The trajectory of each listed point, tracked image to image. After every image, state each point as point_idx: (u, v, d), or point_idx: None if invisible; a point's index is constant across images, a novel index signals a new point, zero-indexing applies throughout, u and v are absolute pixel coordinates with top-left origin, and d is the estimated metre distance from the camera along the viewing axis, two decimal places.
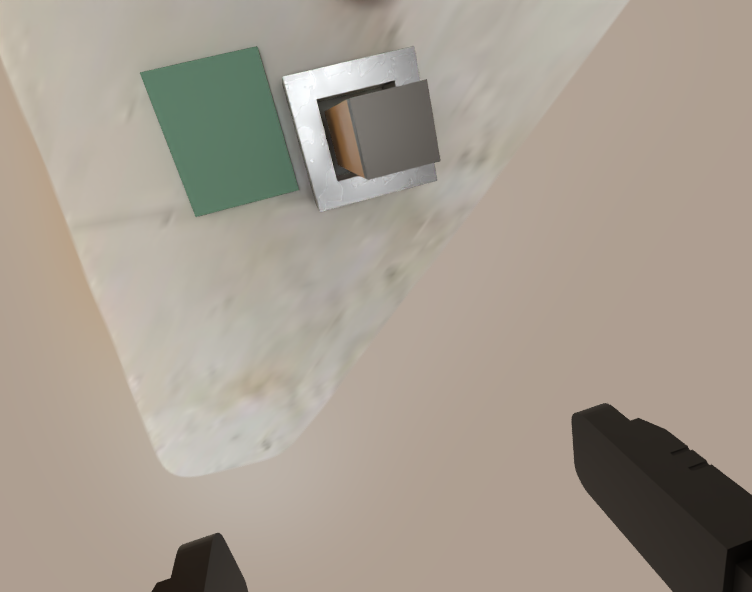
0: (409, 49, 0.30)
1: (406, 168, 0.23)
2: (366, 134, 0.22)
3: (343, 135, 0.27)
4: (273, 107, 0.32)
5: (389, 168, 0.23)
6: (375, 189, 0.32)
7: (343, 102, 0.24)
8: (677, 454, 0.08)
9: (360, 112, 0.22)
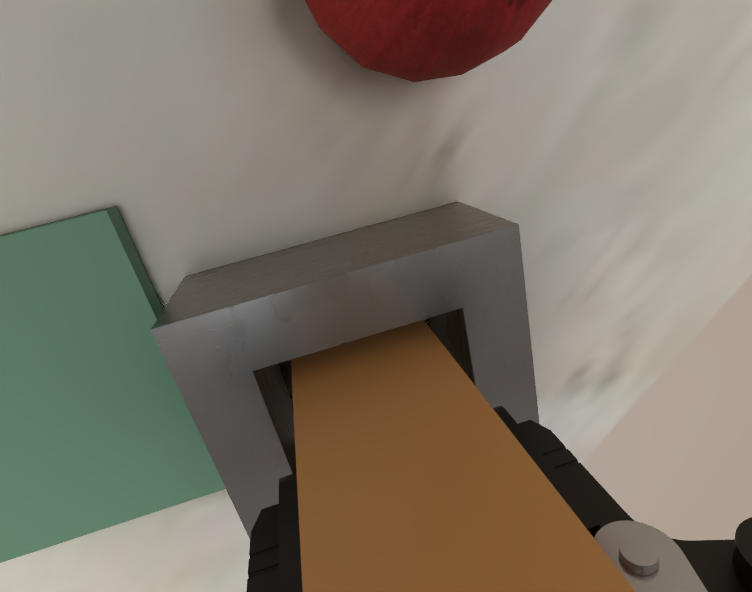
0: (505, 233, 0.11)
1: None
2: None
3: None
4: None
5: None
6: None
7: None
8: (554, 453, 0.09)
9: None
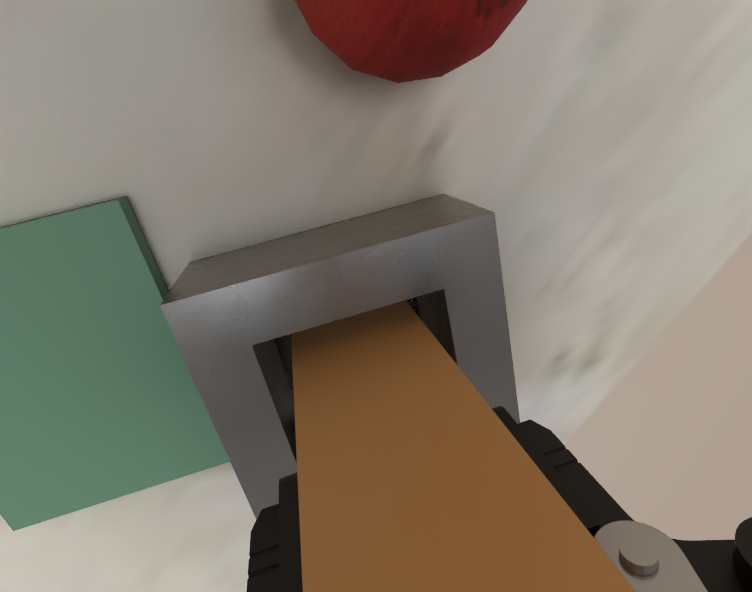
0: (482, 220, 0.12)
1: None
2: None
3: None
4: None
5: None
6: None
7: None
8: (554, 453, 0.09)
9: None
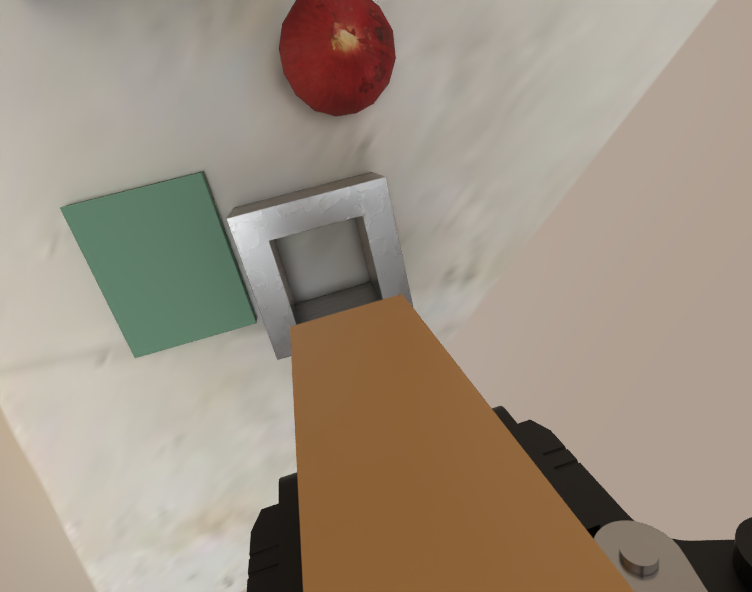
0: (379, 181, 0.25)
1: None
2: None
3: None
4: (223, 237, 0.27)
5: None
6: None
7: None
8: (554, 453, 0.09)
9: None
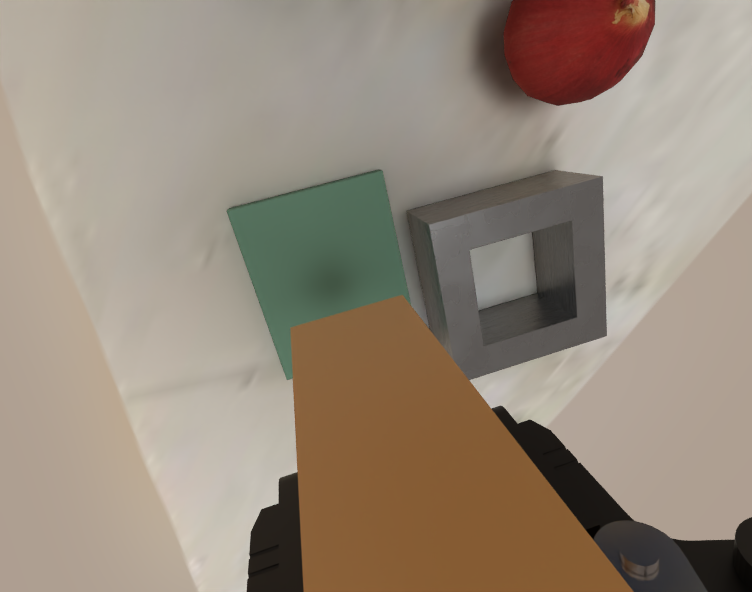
0: (596, 181, 0.22)
1: None
2: None
3: None
4: (396, 244, 0.24)
5: None
6: (529, 352, 0.24)
7: None
8: (554, 453, 0.09)
9: None
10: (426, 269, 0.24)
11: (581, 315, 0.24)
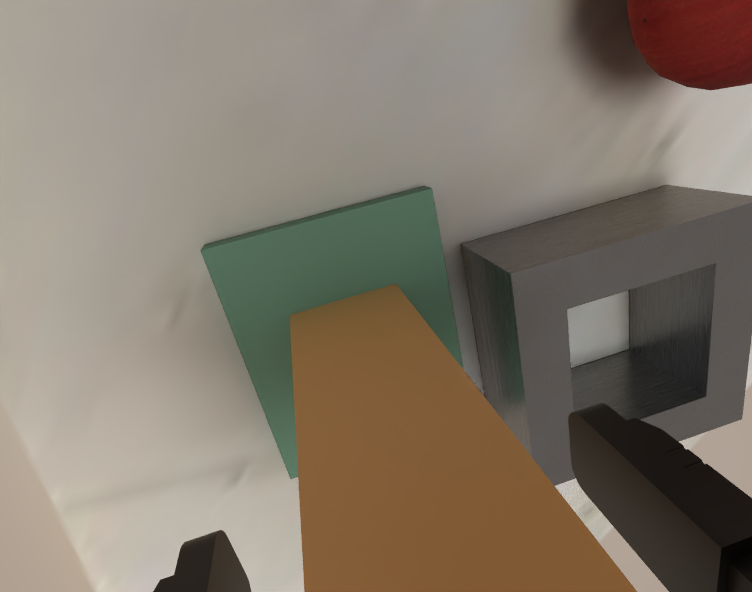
0: None
1: None
2: None
3: None
4: (447, 292, 0.17)
5: None
6: None
7: None
8: (673, 453, 0.09)
9: None
10: (492, 330, 0.16)
11: (712, 393, 0.17)
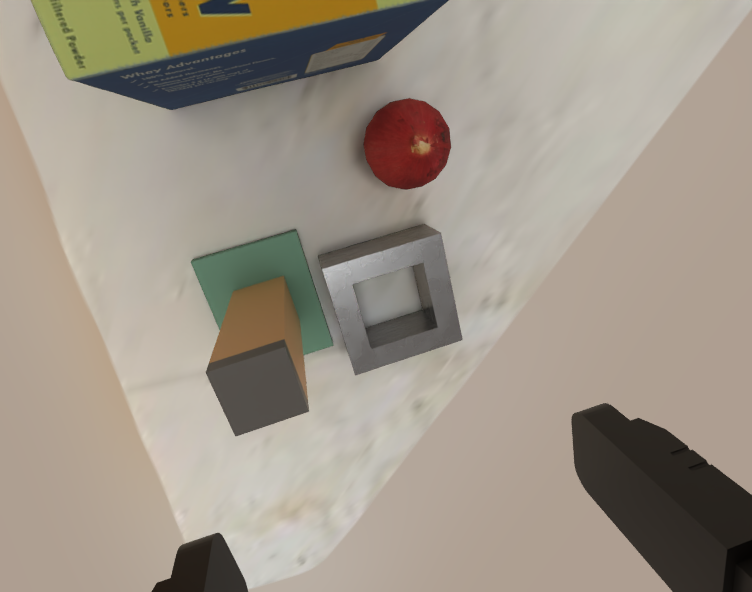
0: (436, 236, 0.32)
1: (274, 421, 0.23)
2: (228, 399, 0.22)
3: None
4: (310, 279, 0.35)
5: (256, 424, 0.23)
6: (405, 352, 0.35)
7: None
8: (677, 454, 0.08)
9: (219, 382, 0.22)
10: None
11: (440, 325, 0.35)
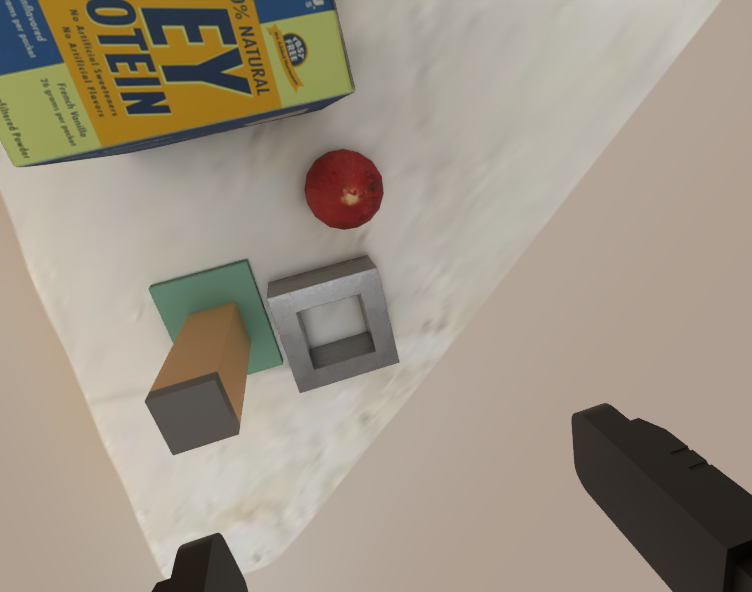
0: (373, 270, 0.35)
1: (207, 443, 0.27)
2: (165, 424, 0.26)
3: None
4: (260, 305, 0.38)
5: (191, 445, 0.26)
6: (346, 373, 0.38)
7: (155, 381, 0.27)
8: (677, 454, 0.08)
9: (156, 409, 0.25)
10: None
11: (379, 349, 0.38)
